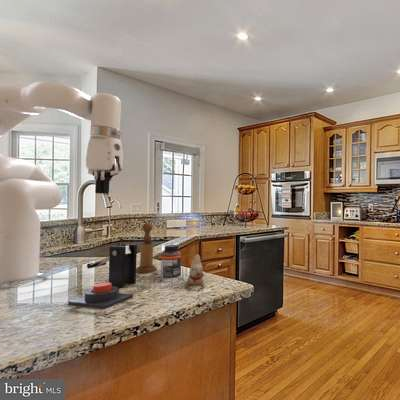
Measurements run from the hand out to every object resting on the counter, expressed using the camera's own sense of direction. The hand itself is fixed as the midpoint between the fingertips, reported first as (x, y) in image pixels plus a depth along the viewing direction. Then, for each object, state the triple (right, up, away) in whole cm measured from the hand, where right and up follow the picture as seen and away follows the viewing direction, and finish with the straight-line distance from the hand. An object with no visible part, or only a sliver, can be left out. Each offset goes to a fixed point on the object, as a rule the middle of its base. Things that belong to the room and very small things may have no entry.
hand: (102, 193), depth 87 cm
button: (+14, -24, -20) cm, 34 cm away
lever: (+7, -20, -6) cm, 22 cm away
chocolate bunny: (+30, -29, -3) cm, 42 cm away
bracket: (+11, -28, -7) cm, 31 cm away
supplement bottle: (+19, -28, +4) cm, 35 cm away
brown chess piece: (+8, -28, +10) cm, 31 cm away
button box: (+14, -28, -20) cm, 37 cm away
